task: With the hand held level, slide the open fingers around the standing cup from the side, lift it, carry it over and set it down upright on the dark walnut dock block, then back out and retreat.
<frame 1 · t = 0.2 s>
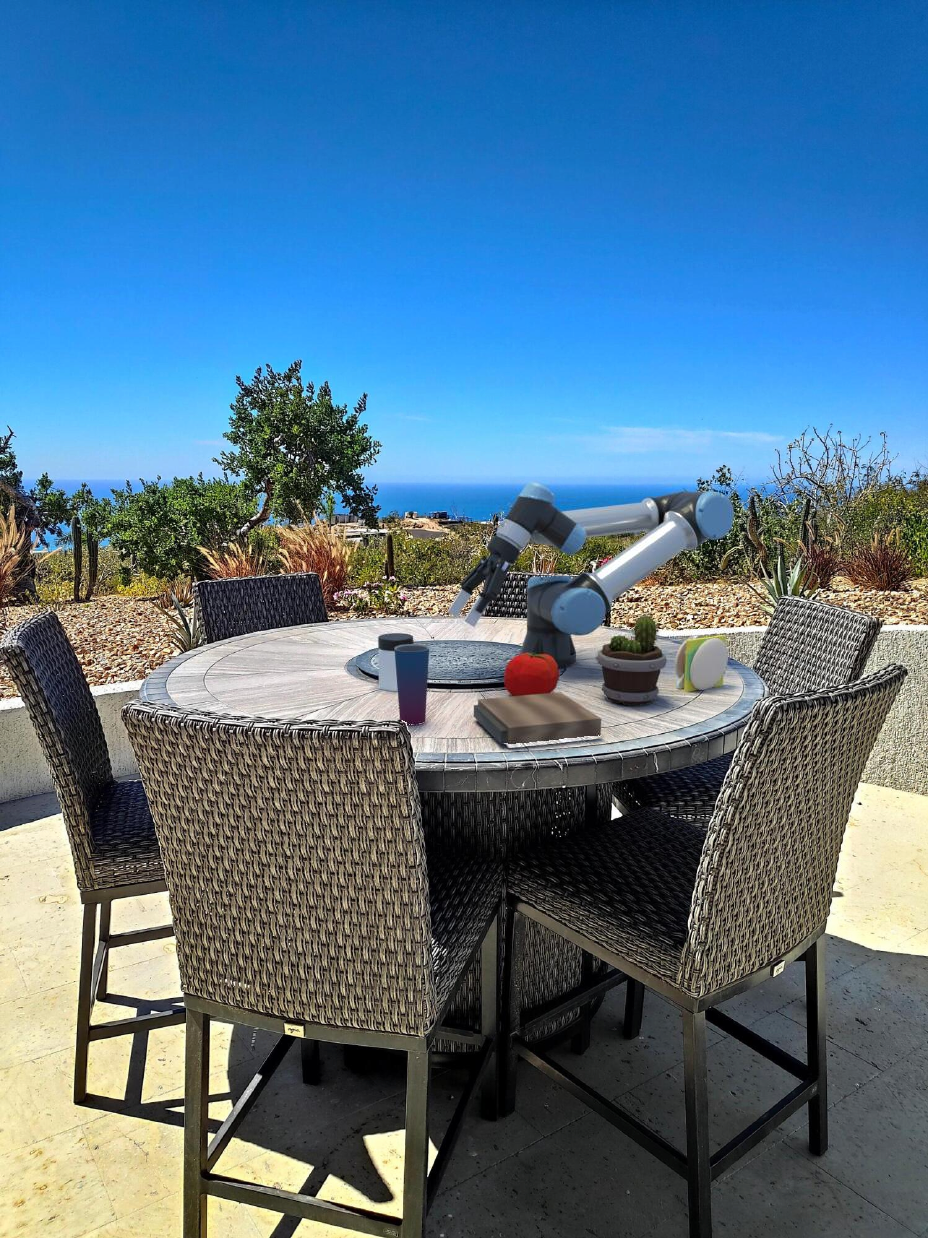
hand: (460, 619, 168), 15 cm above the table, tool tilted 35°, fingers open, 13 cm apart
tomato: (531, 698, 159), on the table
flowerpot: (629, 700, 157), on the table
dock: (536, 728, 138), on the table
jar: (396, 687, 167), on the table
cup: (412, 722, 142), on the table
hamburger: (698, 687, 168), on the table
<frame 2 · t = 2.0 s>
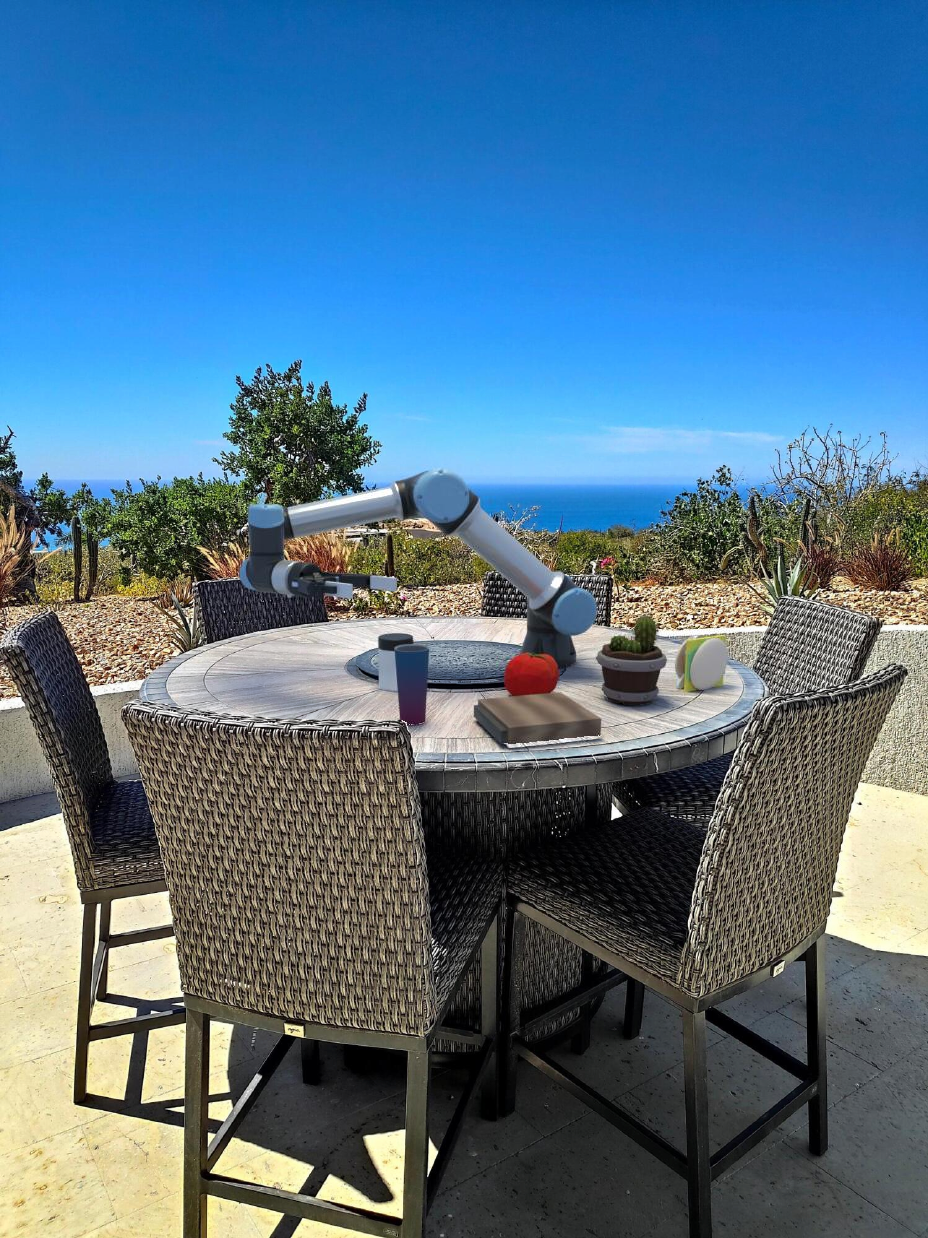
hand: (374, 587, 143), 26 cm above the table, tool horizontal, fingers open, 13 cm apart
nothing on the table moved.
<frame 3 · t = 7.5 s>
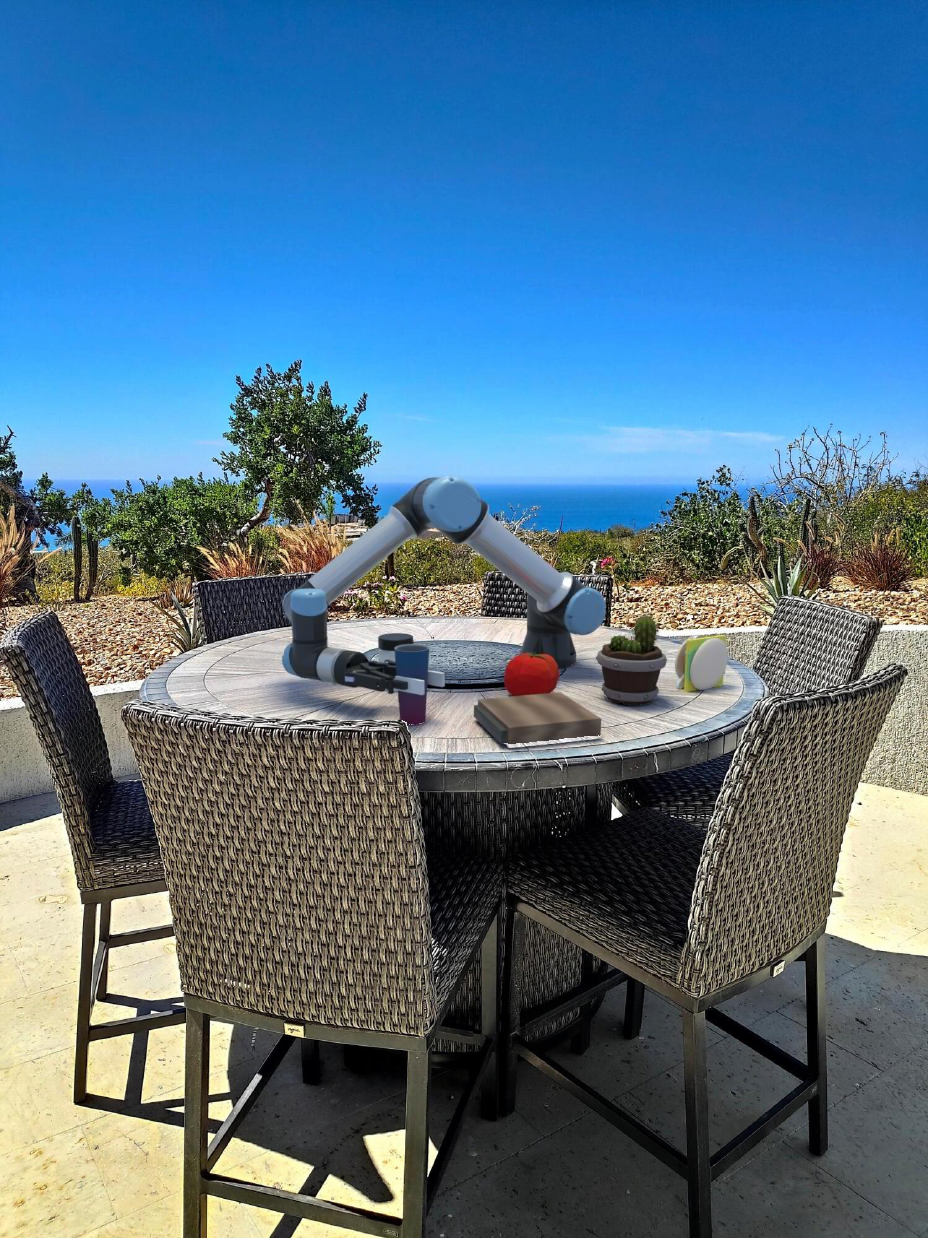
hand: (433, 683, 138), 9 cm above the table, tool horizontal, fingers closed on cup, 6 cm apart
cup: (412, 722, 142), on the table, touching gripper
everything else where it was.
when the fingers open (14 cm above the table, at t = 12.6 s): cup drops 1 cm, resting on dock.
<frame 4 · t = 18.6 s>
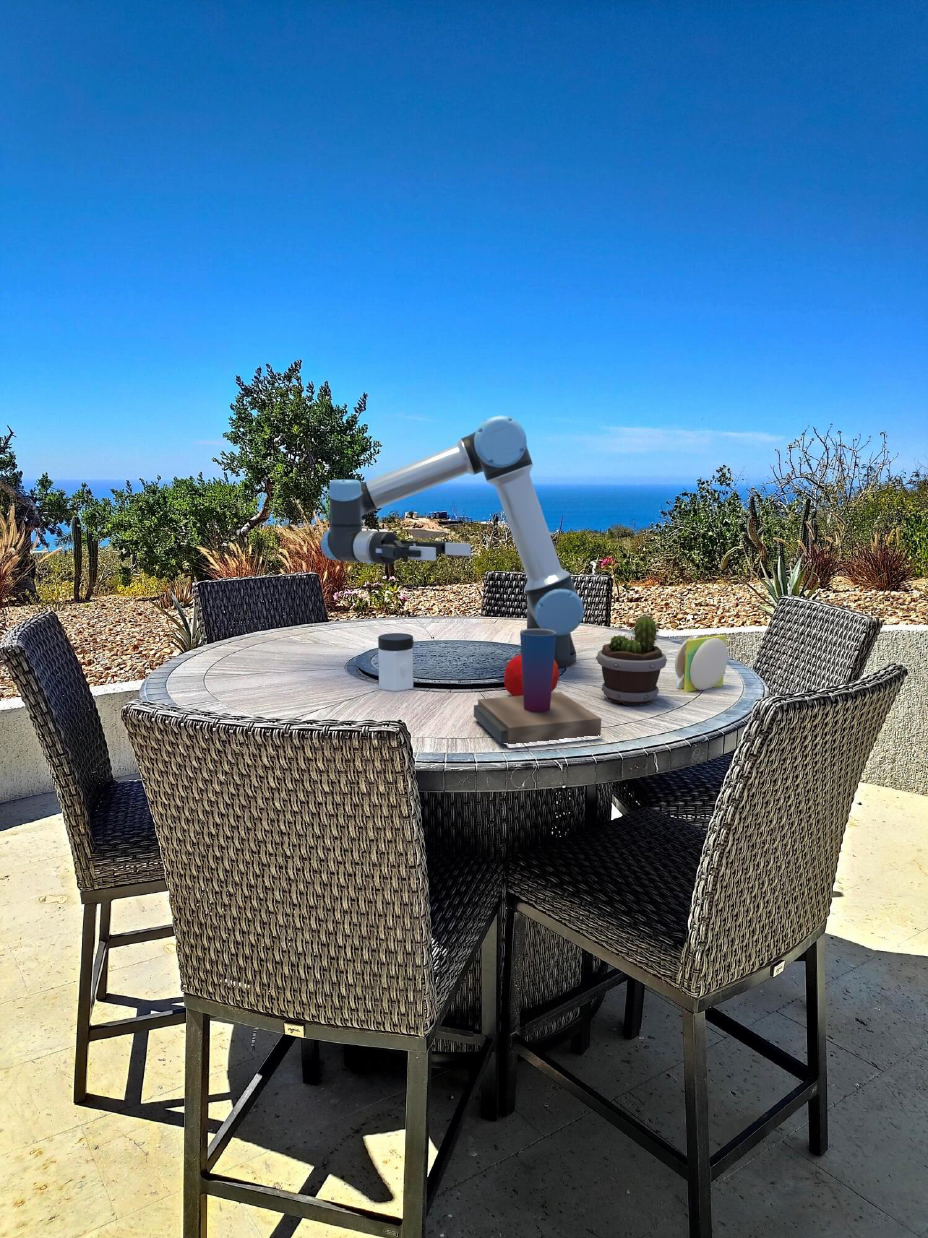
hand: (453, 551, 156), 32 cm above the table, tool horizontal, fingers open, 13 cm apart
cup: (536, 709, 137), point 4 cm above the table, touching dock
everything else where it was.
at the end: cup inside the target area on the dock (0.0 cm from its centre), point 3.8 cm above the dock's base; cup tilted 0°; the gripper is holding nothing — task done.
